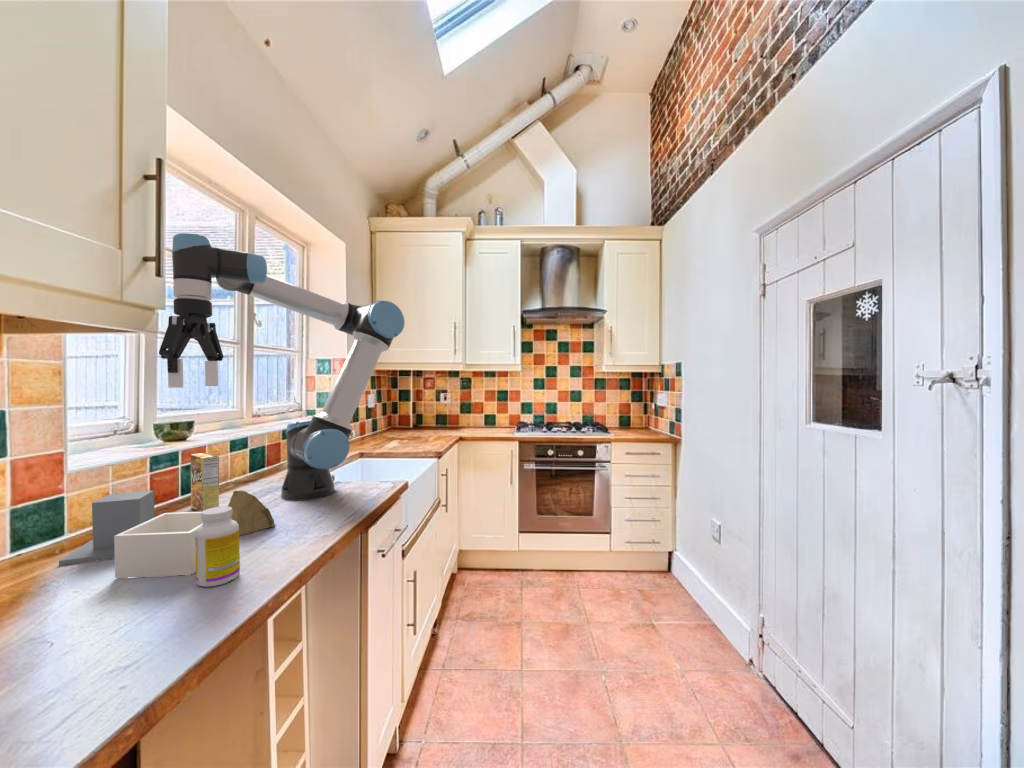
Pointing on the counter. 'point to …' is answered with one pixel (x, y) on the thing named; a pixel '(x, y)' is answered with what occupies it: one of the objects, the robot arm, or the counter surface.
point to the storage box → (158, 547)
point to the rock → (249, 513)
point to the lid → (112, 524)
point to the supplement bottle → (217, 547)
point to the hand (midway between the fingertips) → (195, 386)
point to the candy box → (204, 481)
